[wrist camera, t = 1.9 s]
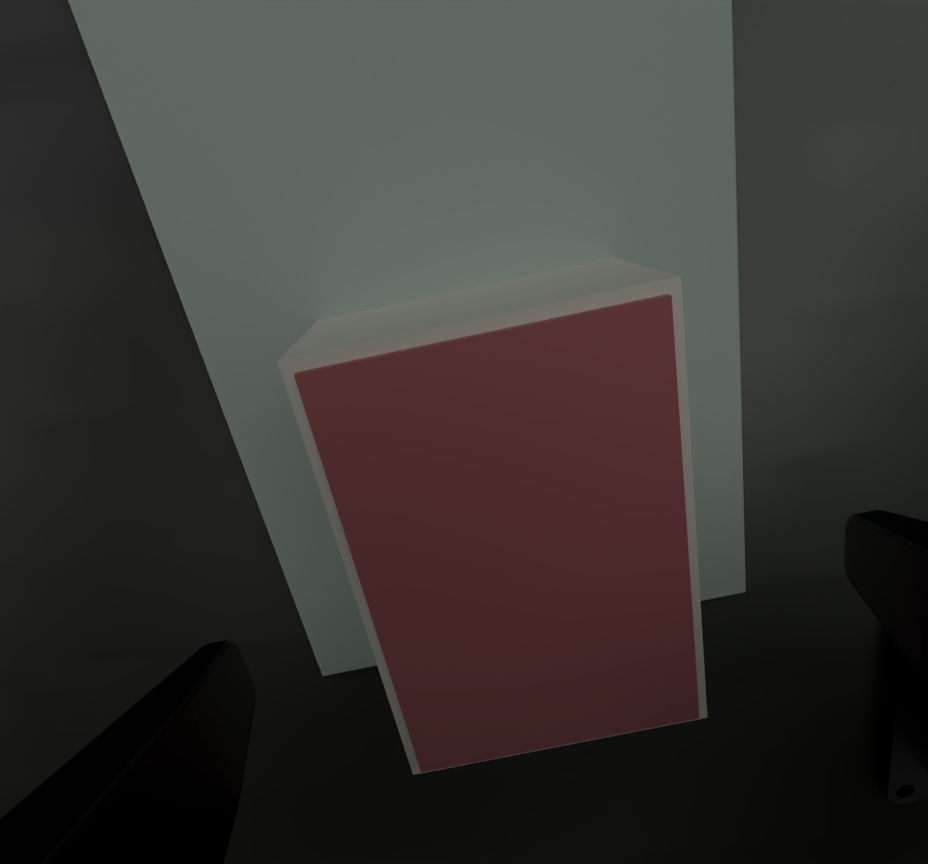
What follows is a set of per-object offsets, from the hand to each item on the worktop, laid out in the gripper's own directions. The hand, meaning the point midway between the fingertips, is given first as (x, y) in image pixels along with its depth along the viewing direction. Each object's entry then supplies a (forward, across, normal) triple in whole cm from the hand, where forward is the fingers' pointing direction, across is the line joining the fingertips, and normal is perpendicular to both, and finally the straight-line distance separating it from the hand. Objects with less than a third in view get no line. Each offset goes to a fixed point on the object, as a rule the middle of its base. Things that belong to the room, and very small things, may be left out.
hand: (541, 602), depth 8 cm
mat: (+4, 0, -4) cm, 6 cm away
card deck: (+4, 0, 0) cm, 4 cm away
